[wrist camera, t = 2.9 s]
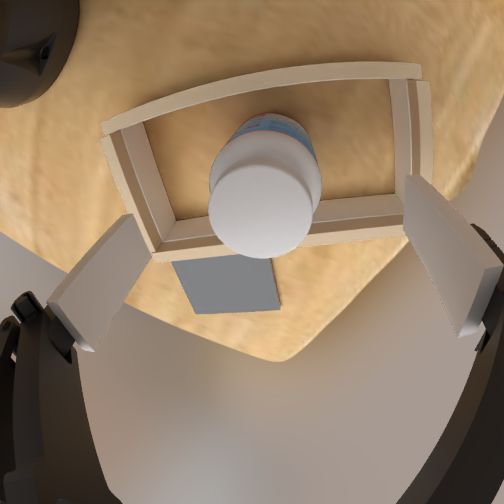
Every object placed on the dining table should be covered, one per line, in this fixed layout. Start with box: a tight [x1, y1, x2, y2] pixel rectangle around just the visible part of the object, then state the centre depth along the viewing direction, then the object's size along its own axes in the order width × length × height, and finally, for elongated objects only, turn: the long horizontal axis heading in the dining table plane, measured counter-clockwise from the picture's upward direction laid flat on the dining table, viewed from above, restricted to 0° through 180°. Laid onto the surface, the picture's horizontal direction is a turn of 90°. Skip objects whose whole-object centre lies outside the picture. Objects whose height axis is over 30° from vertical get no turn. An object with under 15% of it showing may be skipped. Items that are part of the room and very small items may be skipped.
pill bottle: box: [208, 113, 322, 259], centre depth 17 cm, size 6×6×11 cm
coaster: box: [171, 254, 281, 314], centre depth 29 cm, size 10×10×1 cm
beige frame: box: [100, 61, 433, 263], centre depth 19 cm, size 12×22×5 cm, turn 102°
